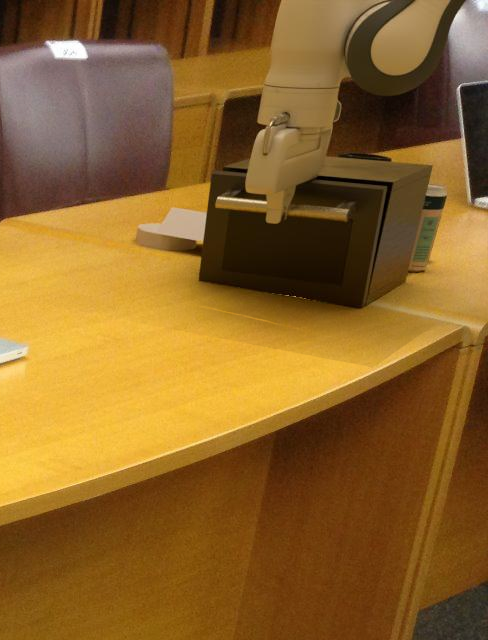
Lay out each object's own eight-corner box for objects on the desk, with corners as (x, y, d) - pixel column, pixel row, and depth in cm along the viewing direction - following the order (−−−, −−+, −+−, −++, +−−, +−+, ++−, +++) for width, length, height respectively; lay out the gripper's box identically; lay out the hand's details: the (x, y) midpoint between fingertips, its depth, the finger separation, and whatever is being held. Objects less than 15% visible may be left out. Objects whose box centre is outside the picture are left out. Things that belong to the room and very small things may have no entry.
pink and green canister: (399, 264, 229) (421, 181, 224) (431, 270, 226) (455, 186, 220) (384, 268, 227) (406, 184, 221) (416, 274, 223) (440, 190, 218)
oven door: (350, 319, 201) (371, 199, 192) (184, 296, 214) (197, 183, 205) (365, 304, 205) (387, 186, 196) (201, 282, 218) (215, 170, 209)
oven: (365, 305, 205) (393, 182, 198) (202, 283, 218) (222, 166, 211) (405, 281, 219) (433, 165, 212) (249, 262, 232) (270, 151, 225)
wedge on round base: (228, 256, 236) (149, 242, 244) (238, 212, 233) (157, 199, 241) (204, 265, 230) (123, 250, 238) (213, 219, 227) (131, 206, 235)
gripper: (297, 119, 185) (274, 236, 191) (345, 105, 199) (323, 214, 205) (243, 115, 188) (223, 230, 194) (295, 101, 202) (275, 209, 208)
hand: (275, 222), depth 200 cm, fingers closed
